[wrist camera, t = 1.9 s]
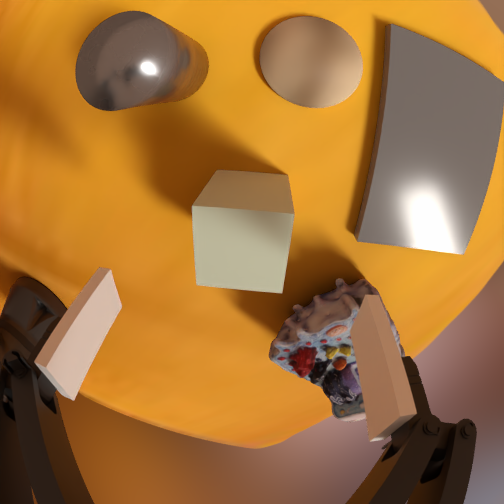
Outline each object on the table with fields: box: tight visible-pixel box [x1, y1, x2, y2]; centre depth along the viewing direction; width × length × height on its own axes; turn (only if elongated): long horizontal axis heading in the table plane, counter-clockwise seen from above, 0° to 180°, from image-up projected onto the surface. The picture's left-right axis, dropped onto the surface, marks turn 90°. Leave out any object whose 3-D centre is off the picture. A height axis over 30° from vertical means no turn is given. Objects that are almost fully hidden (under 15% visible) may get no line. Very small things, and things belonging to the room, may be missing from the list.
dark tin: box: [76, 11, 209, 111], centre depth 14 cm, size 6×6×9 cm
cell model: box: [269, 278, 405, 422], centre depth 27 cm, size 13×11×20 cm
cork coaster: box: [260, 16, 363, 108], centre depth 17 cm, size 8×8×1 cm
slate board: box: [354, 24, 504, 255], centre depth 19 cm, size 14×20×1 cm
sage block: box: [192, 170, 294, 293], centre depth 21 cm, size 6×6×8 cm
